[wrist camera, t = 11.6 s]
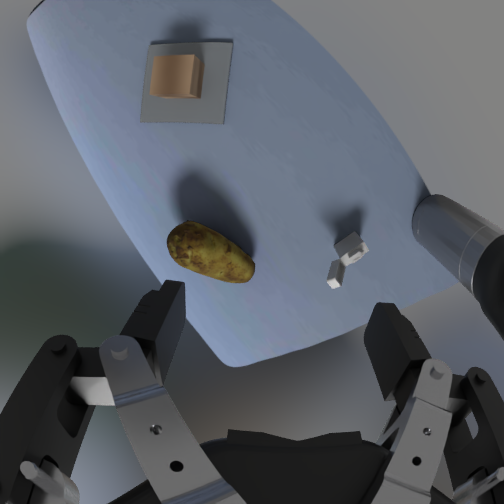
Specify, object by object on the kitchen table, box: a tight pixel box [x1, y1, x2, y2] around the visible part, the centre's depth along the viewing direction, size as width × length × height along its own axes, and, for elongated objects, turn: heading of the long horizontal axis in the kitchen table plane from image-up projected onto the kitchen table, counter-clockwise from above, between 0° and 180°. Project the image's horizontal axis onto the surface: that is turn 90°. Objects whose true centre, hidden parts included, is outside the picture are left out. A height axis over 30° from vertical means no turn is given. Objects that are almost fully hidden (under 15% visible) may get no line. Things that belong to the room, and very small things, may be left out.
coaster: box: [140, 42, 233, 124], centre depth 33 cm, size 12×12×1 cm
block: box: [149, 55, 205, 99], centre depth 30 cm, size 5×5×6 cm
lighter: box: [327, 231, 369, 289], centre depth 39 cm, size 7×2×8 cm, turn 129°
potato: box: [167, 220, 255, 283], centre depth 40 cm, size 8×13×8 cm, turn 34°
